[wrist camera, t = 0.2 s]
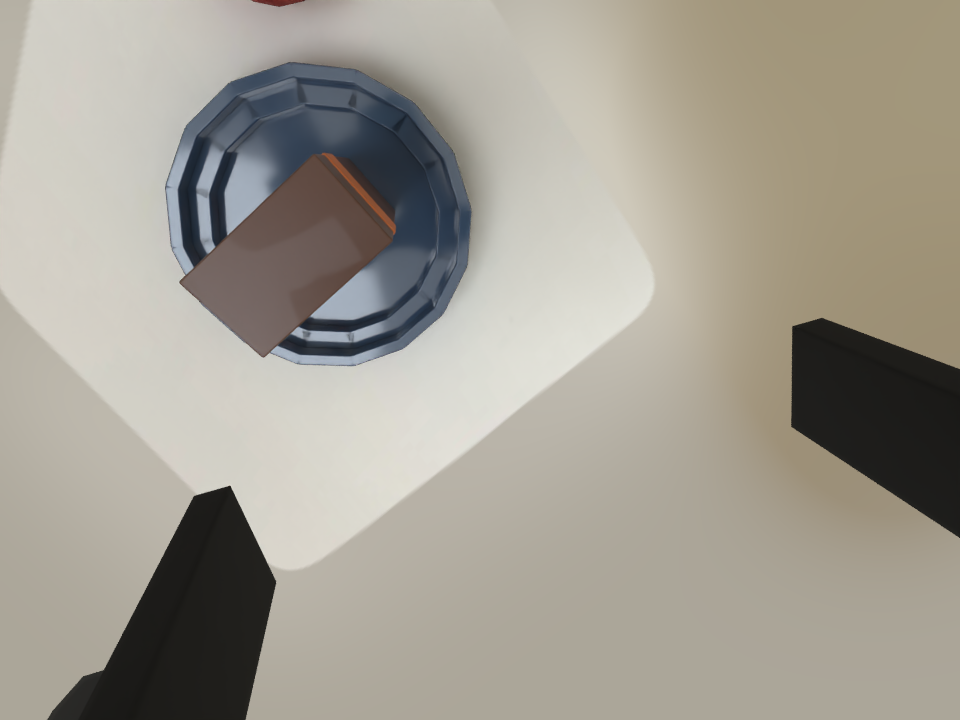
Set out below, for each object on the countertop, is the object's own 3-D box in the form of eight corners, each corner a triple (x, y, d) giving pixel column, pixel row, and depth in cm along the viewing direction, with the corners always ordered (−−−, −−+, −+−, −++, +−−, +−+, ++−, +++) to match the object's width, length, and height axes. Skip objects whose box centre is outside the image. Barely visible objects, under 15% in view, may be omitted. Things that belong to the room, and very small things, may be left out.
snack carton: (263, 236, 29) (175, 282, 17) (348, 155, 28) (313, 150, 17) (314, 286, 30) (262, 360, 19) (397, 211, 29) (395, 240, 18)
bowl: (128, 207, 28) (98, 212, 25) (331, 6, 26) (322, -12, 23) (332, 394, 33) (326, 416, 30) (514, 235, 31) (526, 242, 28)
